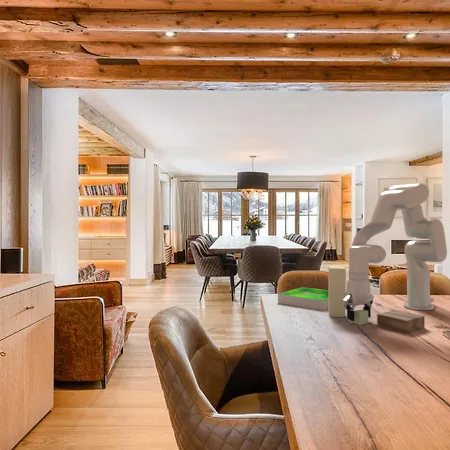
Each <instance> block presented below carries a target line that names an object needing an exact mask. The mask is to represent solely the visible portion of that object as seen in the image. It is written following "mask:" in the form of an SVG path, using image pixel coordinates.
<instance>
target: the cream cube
mask: <svg viewBox="0 0 450 450" xmlns="http://www.w3.org/2000/svg"><path fill="white" fill-rule="evenodd" d="M353 311H354V321H351V320H349V323H353V324H355V325H364V324H369V318H368V311H367V310H363V308H354V310H353Z"/></svg>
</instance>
